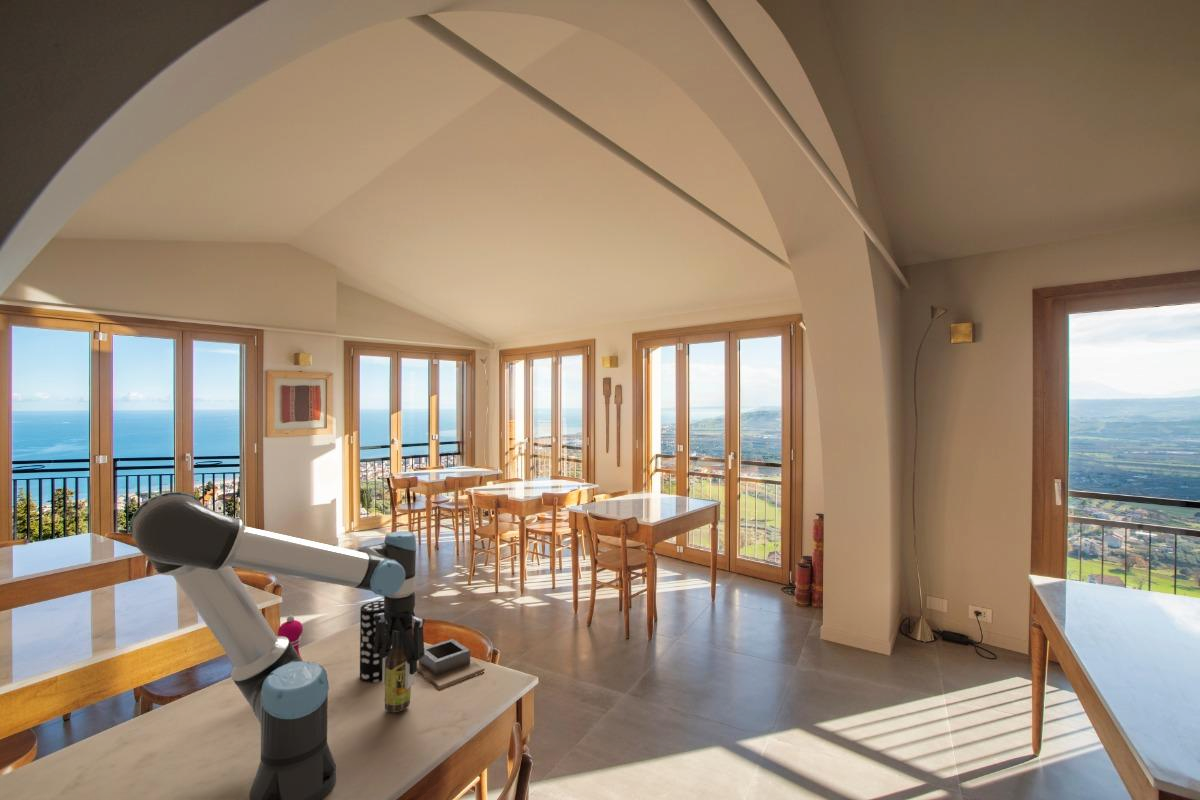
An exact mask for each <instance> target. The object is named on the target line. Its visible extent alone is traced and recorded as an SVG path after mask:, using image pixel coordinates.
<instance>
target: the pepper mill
mask: <svg viewBox="0 0 1200 800" xmlns="http://www.w3.org/2000/svg"><path fill="white" fill-rule="evenodd" d="M303 629H304V627H303V624H302V622H300V620H299V621H298V620H296V619H295V617H294V615H288V617H287V618H286V621H285V622H283V623H282V624H280V625H279V627H278V631H277V636H284V637H287V638H288V640H289V641H290V643H291V644H292V646H293V647H294V649H295V650H296V652H297V654H298V655H299V657H300V658H301V660H302V661H304V660H303V659H302V656H301V654H300V651H299V649H300V648H299V645H300V643H301V639H302V637H301V635H302V633H303Z"/></svg>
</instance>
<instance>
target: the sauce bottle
mask: <svg viewBox="0 0 1200 800" xmlns="http://www.w3.org/2000/svg"><path fill="white" fill-rule="evenodd" d="M406 630H408V629H406ZM406 630H405V631H406ZM407 661H408V657H407V653H406V649H405V645H404V641H403V637H402V636H401V635H400V631H397V630H392V646H391V650H390V652H389V653H388V655H387V662H386V677H385V684H384V710H385V711H387V712H388V713H398V712H401V711H404V710H406V709H407V708H408V707H409V706H410V704H411V693H412V689H411V688H412V686H411V687H409V688H408V689H406V688H405V662H407Z"/></svg>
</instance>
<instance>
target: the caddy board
mask: <svg viewBox="0 0 1200 800" xmlns="http://www.w3.org/2000/svg"><path fill="white" fill-rule="evenodd" d="M483 671H484V672H485V668H484V667H482V666H481V665H480V664H478V663H477V662H476V661H474V660H472V659H471V658H470V664H468V665H466V666H463V667H460V668H457V669H455V670H452V671H449V672H447V673H444V674H441V675H438V676H436V677H435V676H434V675H433V674H432V673H431V672H429V671H428V670H427V669H426V668H424V667H423V666H422V665H421V664H420V663H419V660H418V661H417V671H416V672H418V673H419V674H421V676H423V677H424V678H425V679H426V680H427V681H429V683H431V684H432V685H433V686H435V687H436V688H437V689H438V690H442V689H444V688H447V687H450V686H452V685H454V684H457V683H460V682H462V681H465V680H467V678H468V679H470V678H472V677H471V676H473V677H475V676H477V675H476V674H478V675H480V674H479V673H481V672H483ZM484 672H483V673H484ZM481 674H482V673H481ZM474 675H475V676H474ZM469 677H470V678H469Z"/></svg>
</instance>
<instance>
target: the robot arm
mask: <svg viewBox="0 0 1200 800" xmlns="http://www.w3.org/2000/svg"><path fill="white" fill-rule="evenodd" d="M129 523H130V524H129V527H130V528H129V531H130V534H131V536H132V538H133V540H134V542H135V543H134V544H136V545H135V546H136V547H137V549H138V550H139V551H140V553H142V555H143V556H145V557H147V559H148V560H149V562H150V563H151V565H152V566H153V567H154V570H156V572H157V573H158V575H164V576H170V577H173V578H174V579H175V581H176V582H177V584H178V586H179V587H180V589H181V590H182V592H183V593H184V594H185V596H186V597H187V599H188V600H189V601H190V603H191V604H192V606H193V607H194V609H195V610H196V612H197V613H198V615H199V616H200V618H201V619H202V620H203V622H204V624H205V625H206V626H207V628H208V629H209V631H210V632H211V634H212V635H213V636H214V638H215V640H216V641H217V642H218V644H219V645H220V646H221V649H222V650H223V651H224V652H225V654H226V655H227V657H228V658H229V660H230V661H231V662H232V664H233V668H232V669H231V673H230V677H231V679H232V681H233V682H234V684H235V685H236V686H237V688H238V689H239V691H240V693H241V694H242V695H243V697H244V698H245V700H246V702H248V704H249V706H250V707H251V709H252V711H253V713H254V715H255V716H256V718H257V720H258V722H259V724H260V761H259V764H258V768H257V770H256V773H255V775H254V776H255V777H254V778H253V782H252V784H251V787H250V792H249V798H248V799H249V800H323V799H324V798H326V797H327V795H329V794H330V792H332V790H333V789H334V786H335V784H336V782H337V765H336V762H335V759H334V757H333V754H332V752H331V749H330V746H329V744H328V706H329V705H328V702H329V701H328V700H329V698H328V697H329V694H328V693H329V690H330V686H329V679H328V673H327V670H326V669H325V668H324V666H323V665H321V664H320V663H317V662H315V661H312V662H309V661H308V660H307V661H305V660H303V659H302V657H301V658H300V657H299V655H298V654H297V652H296V650H295V649H294V647H293V646H292V644H291V643H290V641H289V640H288V638H287V637H284V636H278V635H276V634H275V632H274V630H273V629H272V627H271V626H270V624H269V622H268V621H267V620H266V618H265V616H264V615H263V613H262V612H261V610H260V609H259V607H258V605H257V604H256V603H255V601H254V600H253V598H252V596H251V595H250V593H249V591H248V590H247V588H246V587H245V585H244V584H243V581H242V580H241V579H240V577H239V576H238V574H237V573H236V571H235V569H234V568H239V569H244V570H249V571H255V572H262V573H269V574H273V575H278V576H284V577H285V576H286V577H291V578H297V579H302V580H308V581H314V582H315V581H316V582H321V583H327V584H332V585H338V586H345V587H350V588H354V589H360V590H364V591H365V590H366V591H371V592H372V593H374V594H375V595H379V596H382V597H383V601H384V610H385V613H383V612H382V613H380V614H378V615H376V616H375V617H374V618H375V623H376V629H375V641H374V653H375V654H379V656H380V657H381V665H380V667H381V669H382V680H381V685H385V677H386V662H387V655H388V653H389V652H390V649H391V648H392V630H397V631H400V635H401V636H402V637H403V641H404V645H405V649H406V653H407V657H408V661H407V662H405V688H406V689H408V688H409V687H411V688H412V686H413V685H415V674H416V672H418V671H417V661H418V660H419V659H420V658H422V657H423V656H424V648H425V646H424V645H425V643H424V642H425V639H424V624H425V617H421V618H418V617H417V616H416V614H415V612H414V610H415V609H414V608H415V607H416V592H415V590H416V561H417V560H416V559H417V558H416V557H417V540H416V535H415V534H414V532H412V531H407V530H406V531H405V530H404V531H403V530H402V531H401V530H400V531H394V532H390V533H387V534H386V535H384V536H385V537H384V540H383V542H381V543H379V544H373V545H371V544H370V545H367V546H359V547H353V548H351V547H349V548H344V547H341V546H337V545H336V546H335V545H331V544H327V543H322V542H318V541H313V540H309V539H304V538H302V537H301V538H300V537H296V536H291V535H287V534H282V533H279V532H273V531H268V530H264V529H259V528H255V527H250V526H246V525H244V523H243V520H242V519H240V518H238V517H237V518H236V517H232V516H228V515H225V514H222V513H219V512H217V511H215V510H213V509H211V508H209V507H207V506H205V504H203V503H202V502H201V500H199V499H198V498H197V497H196V496H194V495H193V494H189V493H187V492H182V491H181V492H180V491H171V492H164V493H161V494H158V495H155V496H153V497H150V498H149V499H147V500H146V501H144V502H143V503H142V504H141V505H140V506H139V507H138V508H137V510H135V512H134V513H133V515H132V517H131V520H130V522H129ZM386 621H387V623H388V624H387V627H386ZM385 628H386V631H385ZM406 629H408V630H406ZM405 630H406V631H405ZM385 632H386V634H385ZM301 659H302V660H303V661H302V660H301Z"/></svg>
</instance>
